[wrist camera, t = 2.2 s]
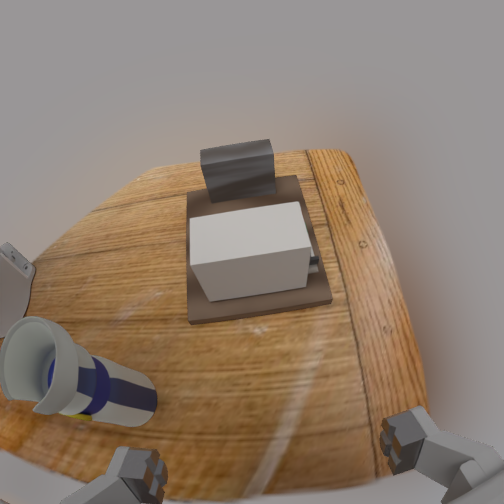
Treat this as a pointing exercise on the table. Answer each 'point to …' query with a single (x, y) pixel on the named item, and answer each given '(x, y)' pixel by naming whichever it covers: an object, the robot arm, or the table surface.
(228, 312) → the gauge stand
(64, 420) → the table surface
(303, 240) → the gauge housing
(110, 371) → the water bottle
